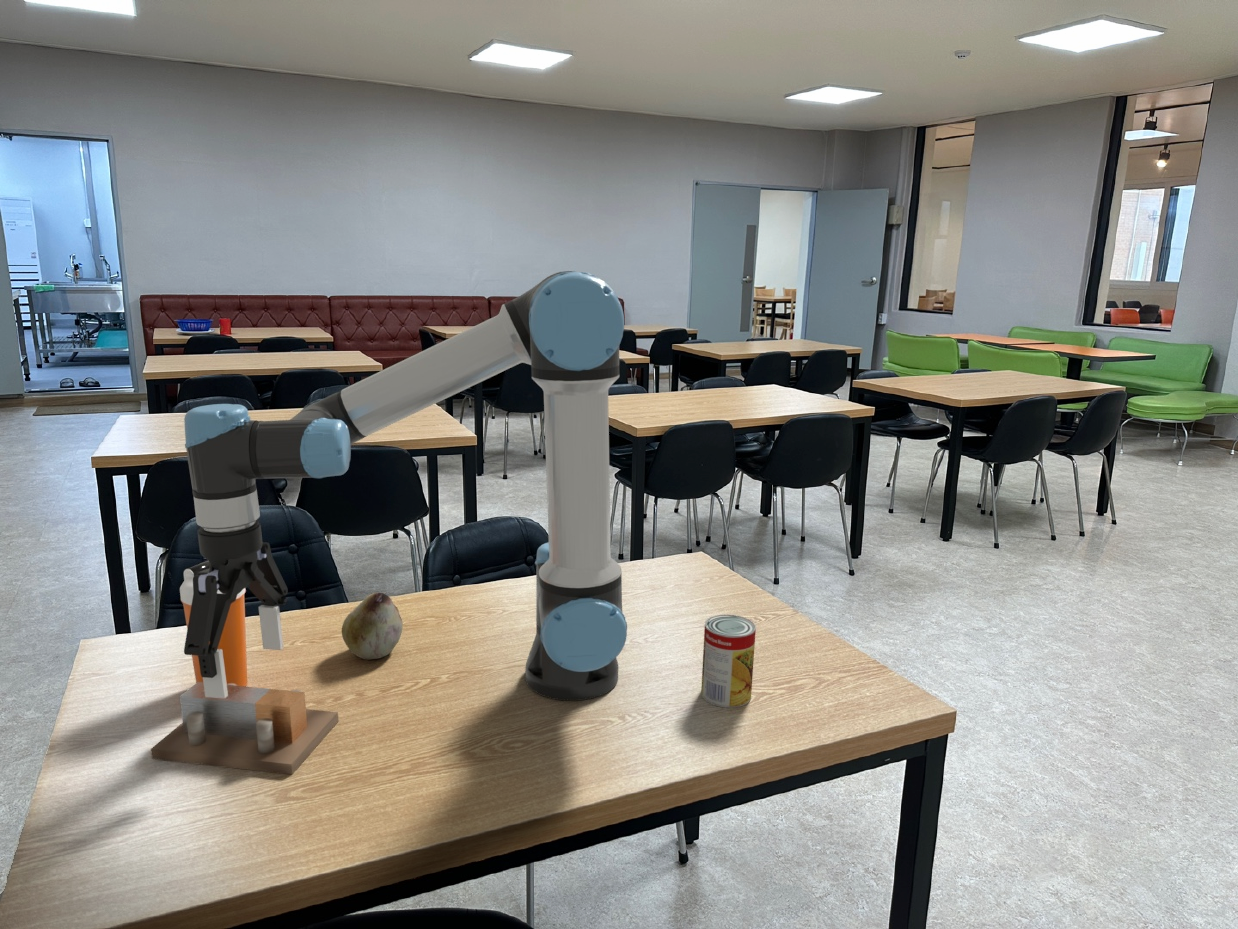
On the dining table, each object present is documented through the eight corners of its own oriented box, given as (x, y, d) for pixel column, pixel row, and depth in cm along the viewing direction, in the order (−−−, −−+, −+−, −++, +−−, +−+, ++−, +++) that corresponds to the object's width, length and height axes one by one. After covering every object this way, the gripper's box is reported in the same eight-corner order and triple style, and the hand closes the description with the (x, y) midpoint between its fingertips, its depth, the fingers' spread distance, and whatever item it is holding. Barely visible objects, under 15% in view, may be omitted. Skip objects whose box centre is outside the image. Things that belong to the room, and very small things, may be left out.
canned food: (757, 690, 133) (762, 621, 130) (740, 713, 126) (745, 640, 123) (712, 678, 136) (716, 610, 133) (693, 699, 129) (696, 628, 127)
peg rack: (338, 721, 121) (336, 687, 119) (292, 774, 108) (289, 737, 107) (211, 708, 123) (207, 675, 122) (151, 759, 111) (147, 722, 109)
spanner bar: (183, 732, 115) (179, 696, 113) (201, 716, 118) (198, 681, 117) (292, 743, 112) (289, 707, 111) (307, 727, 116) (304, 692, 115)
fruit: (376, 672, 135) (373, 604, 132) (330, 661, 139) (326, 594, 136) (414, 646, 144) (411, 582, 142) (369, 636, 148) (366, 573, 145)
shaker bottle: (229, 705, 124) (217, 581, 119) (177, 698, 126) (163, 575, 121) (265, 677, 133) (255, 559, 128) (216, 670, 134) (204, 554, 130)
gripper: (255, 495, 121) (270, 629, 126) (136, 555, 97) (160, 717, 102) (303, 497, 120) (316, 632, 125) (195, 558, 96) (217, 722, 101)
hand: (246, 671), depth 113 cm, fingers open, 13 cm apart
